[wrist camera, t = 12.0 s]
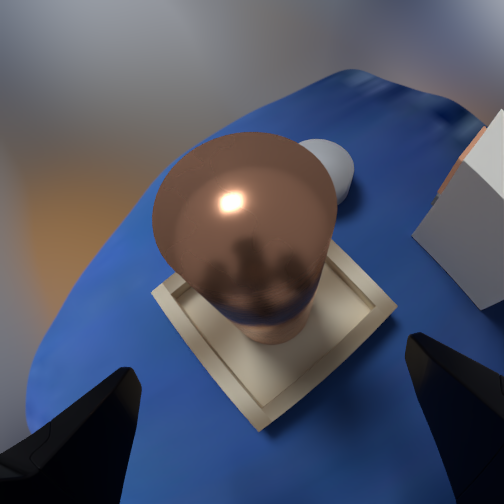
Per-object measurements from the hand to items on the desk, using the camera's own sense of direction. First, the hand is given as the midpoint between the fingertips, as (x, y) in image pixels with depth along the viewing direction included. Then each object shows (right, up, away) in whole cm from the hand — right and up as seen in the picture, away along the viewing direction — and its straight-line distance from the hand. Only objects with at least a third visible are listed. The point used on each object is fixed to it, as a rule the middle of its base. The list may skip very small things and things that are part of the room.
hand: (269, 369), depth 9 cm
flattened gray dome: (+5, +9, +14) cm, 17 cm away
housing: (+17, +4, +11) cm, 20 cm away
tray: (+1, 0, +11) cm, 11 cm away
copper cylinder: (+1, 0, +10) cm, 10 cm away
